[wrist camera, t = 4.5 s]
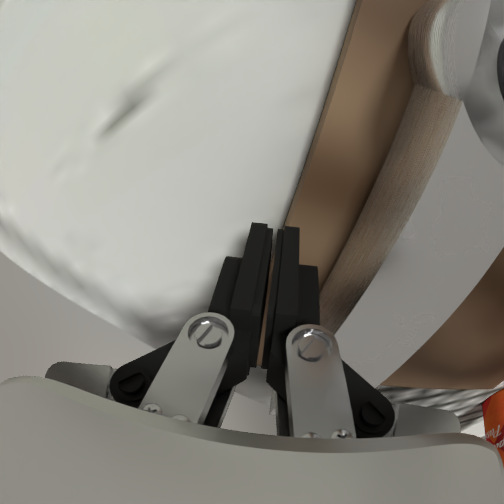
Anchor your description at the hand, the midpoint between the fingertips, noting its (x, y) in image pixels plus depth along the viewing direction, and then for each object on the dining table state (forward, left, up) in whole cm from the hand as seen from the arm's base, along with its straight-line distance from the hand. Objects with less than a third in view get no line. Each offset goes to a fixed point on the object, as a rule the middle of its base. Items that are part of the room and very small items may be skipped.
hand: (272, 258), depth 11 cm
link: (-2, +4, 0) cm, 5 cm away
